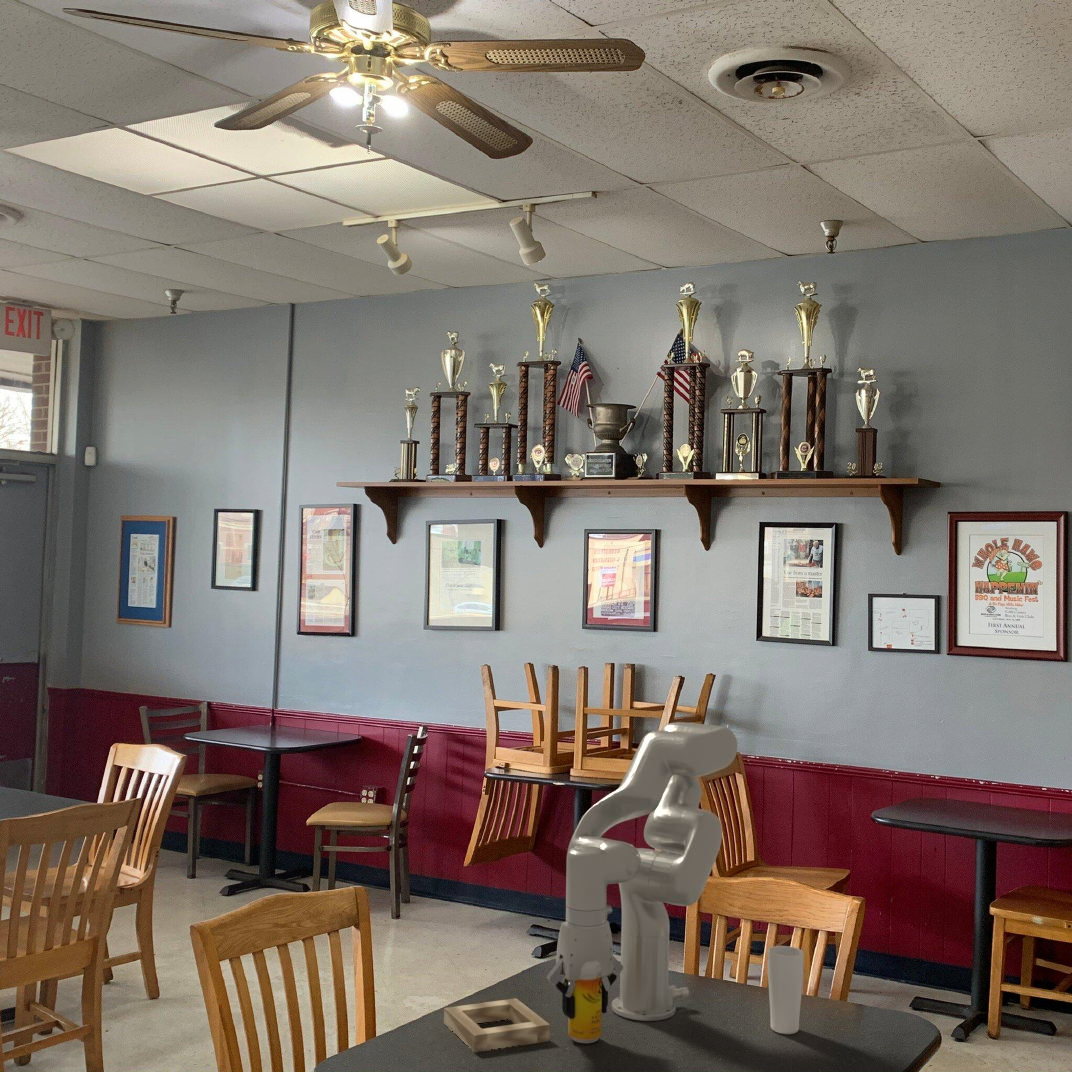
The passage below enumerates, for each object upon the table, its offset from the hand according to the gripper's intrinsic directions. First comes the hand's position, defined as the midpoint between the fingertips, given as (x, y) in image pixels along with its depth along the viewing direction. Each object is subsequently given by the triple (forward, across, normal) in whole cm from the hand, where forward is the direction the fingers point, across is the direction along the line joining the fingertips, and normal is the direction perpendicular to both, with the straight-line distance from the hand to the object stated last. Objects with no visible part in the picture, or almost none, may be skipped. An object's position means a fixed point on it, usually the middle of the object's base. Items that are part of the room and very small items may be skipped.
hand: (585, 1012), depth 221 cm
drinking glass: (+6, -38, +9) cm, 40 cm away
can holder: (+5, +14, -10) cm, 18 cm away
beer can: (+5, 0, 0) cm, 5 cm away
